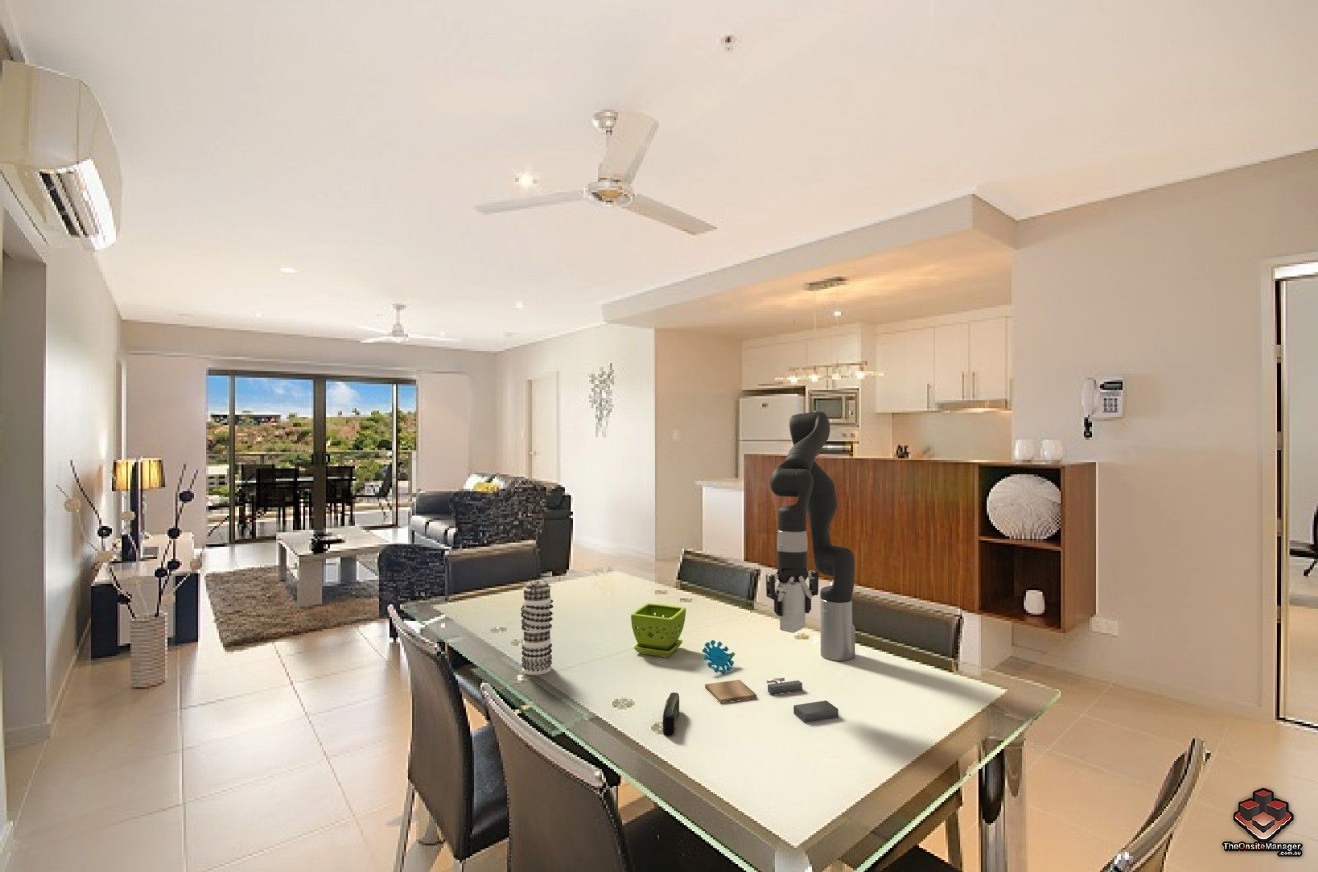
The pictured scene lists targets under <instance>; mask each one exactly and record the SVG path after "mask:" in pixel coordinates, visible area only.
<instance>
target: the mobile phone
mask: <svg viewBox="0 0 1318 872" xmlns="http://www.w3.org/2000/svg"><path fill="white" fill-rule="evenodd" d="M679 716H680V695H679V693H678V692H671V693H670V694H669V696H668V697H667V699H666V700H665V704H664V709H663V714H662V734H663V735H664V736H668V737H673V736H674V735H675V729H676V724H677V721H678V719H679V718H680V717H679Z"/></svg>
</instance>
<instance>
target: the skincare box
mask: <svg viewBox="0 0 1318 872" xmlns="http://www.w3.org/2000/svg"><path fill="white" fill-rule="evenodd" d="M784 585H785V583H784V584H783V583H782V582H781V583H780V588H783V587H784ZM781 601H782V602H783V616H779V631H782V632H786V633H791V634H795V633H798V632H799V631H801V630H802V629H804V628H806V613H805V592H804V590H803V587H802V585H801V583H800V582H793V583H789V584H787V593H786V594H785V595H784V596H783V598H782V600H781Z"/></svg>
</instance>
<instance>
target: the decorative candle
mask: <svg viewBox="0 0 1318 872" xmlns="http://www.w3.org/2000/svg"><path fill="white" fill-rule="evenodd" d="M551 588H552V586H551V585H549V583H548V582H547V580H542V579H541V580H540V579H535V580H531V581H530V580H529V581H528V582H526V583H525V585H524V586H523V587H522V590H523V598H522V606H521V607H520V617H521V618H522V619H521V631H522V632H523V638H522V645H521V649H522V650H521V655H522V657H521V672H522V673H523V674H525V675H528V676H529V675H530V676H537V675H543V674H547V673H549V672H550V671H552V665H553V663H552V662H553V661H552V659H553V657H552V652H553V650H552V647H553V644H552V637H551V629H552V628H553V625H552V624H553V623H550V622H551V621H553V620H554V619H553V617H552V616H553V614H554V613H553V611H551V609H553V608H554V605H553V604H552V603H554V600H553V599H551V598H552V597H551Z"/></svg>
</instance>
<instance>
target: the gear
mask: <svg viewBox="0 0 1318 872" xmlns="http://www.w3.org/2000/svg"><path fill="white" fill-rule="evenodd" d="M715 644H716V640H715V639H711V640H710V642H709V641H707V642H705V644H704V647H703V648H702V650H701V651H702V653H704V655H703V661H709V662H707V664H706V665H707V667H708V668H709V669H710V668H712V667H713V666H716V667H714V668H713V671H714V673H716V674H718V673H719V672H720V673H721V674H722V675H723V674H724V675H725V674H727V673H729V672H731V671H733V668H732V667H733V665H735V662H734V660H732V659H733V658H734V657H735V656H736V653H735V652H734V651H731V652H729V653H728V651H729V650H730V649H729V647H728V646H727V645H725V646H724V647H723V648H721V647H722V646H723V643H722V642H721V641H720V640H719V641H718V642H717V644H716V646H715ZM720 668H721V671H720Z"/></svg>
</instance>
